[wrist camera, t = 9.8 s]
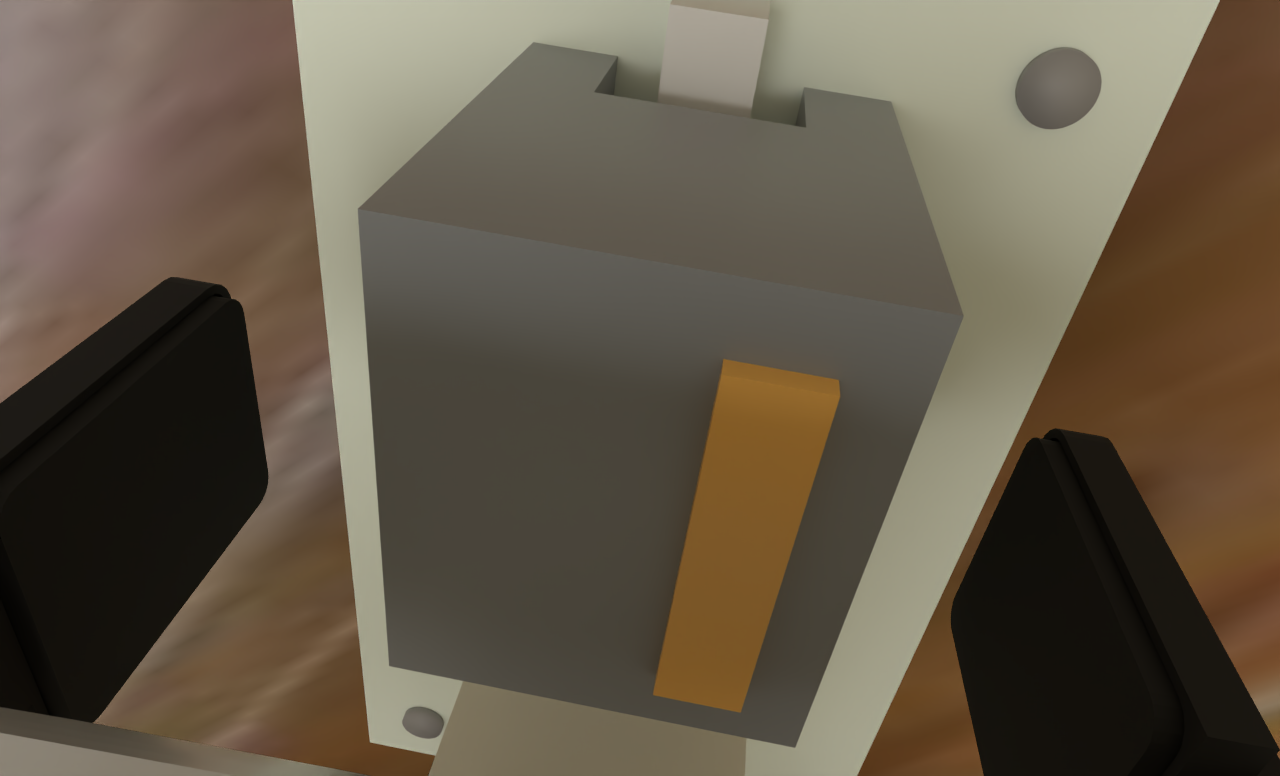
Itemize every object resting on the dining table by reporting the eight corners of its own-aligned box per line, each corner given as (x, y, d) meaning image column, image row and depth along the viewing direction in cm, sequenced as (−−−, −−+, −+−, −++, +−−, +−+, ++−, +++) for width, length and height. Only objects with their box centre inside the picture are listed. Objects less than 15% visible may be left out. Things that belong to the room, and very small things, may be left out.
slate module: (793, 442, 15) (794, 766, 10) (515, 391, 15) (380, 683, 10) (890, 101, 12) (969, 331, 7) (533, 42, 12) (345, 222, 7)
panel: (827, 790, 23) (830, 883, 21) (387, 702, 24) (350, 785, 22) (1191, -34, 11) (1274, -1, 10) (316, -166, 12) (225, -160, 10)
